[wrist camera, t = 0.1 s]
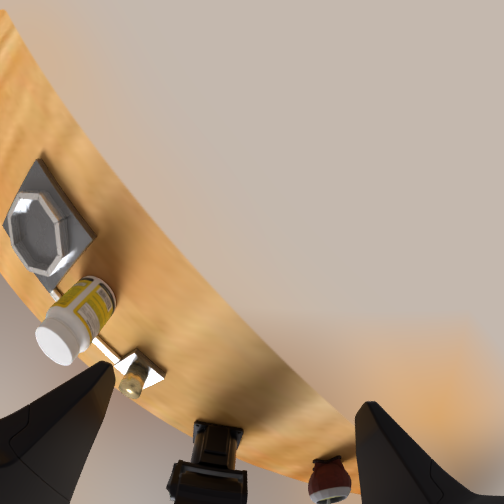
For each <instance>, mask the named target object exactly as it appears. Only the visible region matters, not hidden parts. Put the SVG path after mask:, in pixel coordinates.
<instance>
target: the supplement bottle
mask: <svg viewBox="0 0 504 504" xmlns="http://www.w3.org/2000/svg"><path fill="white" fill-rule="evenodd" d="M115 308H116V299H115V296H114V293H113V291H112V290H111V288H110V287H109V286H108V285H107V284H106V283H105V282H104V281H103V280H101V279H99V278H97V277H94V276H85V277H83V278H82V279H80V280H79V281H78V282H77V283H76V284H75V285H74V286H73V287H72V288H70V289H69V290H68V291H67V292H66V293H65V294H64V295H63V296H62V297H61V298H60V299H59V300H58V301H57V302H56V303H55V304H54V305H52V306H51V307H50V308H49V310H48V311H47V314H46V319H45V320H44V321H43V322H42V323H41V324H40V325H39V327H38V328H37V329H36V333H35V334H36V339H37V342H38V344H39V346H40V347H41V349H42V350H43V352H44V353H45V354H46V355H47V356H48V357H49V358H50V359H52V360H53V361H54V362H56V363H58V364H61V365H65V366H66V365H70V364H71V363H72V362H73V361H74V359H75V358H76V357H77V356H78V354H79V353H81V352H84V351H85V350H86V349H87V348H88V347H89V346H90V344H91V343H92V342H93V340H94V339H95V337H96V336H97V335H98V333H99V332H100V331H101V329H102V328H103V326H104V325H105V324H106V322H107V321H108V320H109V318H110V317H111V316H112V314H113V313H114V311H115Z"/></svg>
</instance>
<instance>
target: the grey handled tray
mask: <svg viewBox="0 0 504 504" xmlns="http://www.w3.org/2000/svg"><path fill="white" fill-rule="evenodd" d="M2 226H3V227H4V229H5V231H6V232H7V234H8V235H9V237H10V240H11V246H12V248H13V250H14V251H15V253H16V254H17V256H18V257H19V259H20V260H21V262H22V263H23V264H24V266H25V267H26V269H27V270H29V272H33V273H34V274H35V275H36V276H37V278H38V279H39V280H40V282H41V283H42V284H43V286H44V287H45V288H46V289H47V291H48V292H49V293H51V294H50V295H51V296H52V298H53V299H54V300H55V301H56V302H57V301H58V300H59V299H60V298H61V297H62V295H61V294H60V293H59V292H58V291H57V289H56V287H57V286H58V284H59V283H60V282H61V280H62V279H63V278H64V276H65V275H66V274H67V272H68V271H69V270H70V269H71V267H72V266H73V265H74V264H75V262H76V261H77V260H78V259H79V257H80V256H81V255H82V254H83V253H84V251H85V250H86V249H87V248H88V247H89V245H90V244H91V243H92V242H93V241H94V240H95V238H96V237H97V236H96V235H95V234H94V232H93V231H92V230H91V228H90V227H89V226H88V225H87V223H86V222H85V221H84V219H83V218H82V217H81V215H80V214H79V213H78V211H77V210H76V209H75V207H74V206H73V205H72V203H71V202H70V200H69V199H68V198H67V196H66V195H65V193H64V192H63V190H62V189H61V188H60V186H59V185H58V183H57V182H56V180H55V179H54V177H53V176H52V174H51V173H50V171H49V170H48V168H47V167H46V165H45V163H44V162H43V160H42V159H36V161H35V162H34V164H33V166H32V167H31V169H30V171H29V172H28V174H27V176H26V178H25V180H24V182H23V183H22V185H21V187H20V189H19V191H18V193H17V195H16V197H15V199H14V201H13V203H12V205H11V207H10V209H9V212H8V214H7V216H6V218H5V221H4V223H3V225H2ZM93 343H94V344H95V345H96V346H97V347H98V348H99V349H100V350H101V351H102V352H103V353H105V354H106V355H107V356H108V357H109V358H110V359H111V360H112V361H113V362H114V363H115V365H114V367H115V368H117V369H118V370H119V371H120V372H121V373H122V374H123V375H124V377H123V379H122V381H121V383H120V385H119V390H120V391H121V393H122V394H124V395H125V396H127V397H129V398H132V399H137V398H139V397H140V394H141V392H142V389H144V388H146V387H148V386H150V385H153V384H155V383H157V382H159V381H161V380H163V379H164V378H165V375H166V374H165V373H164V372H163V371H162V370H161V369H159V368H158V367H157V366H156V365H155V364H154V363H153V362H151V361H150V360H149V359H148V358H147V357H146V356H145V355H144V354H143V353H141V352H140V351H139V350H138V349H135V350H134V351H132V352H130V353H129V354H127V355H126V356H124V357H123V358H121V357H120V356H119V355H118V354H116V353H115V352H114V351H113V350H112V349H111V348H110V347H109V346H108V345H107V344H106V343H105V342H104V341H103V340H102V339H101V338H100V337H99V336H98V335H97V336H96V337H95V339H94V340H93Z"/></svg>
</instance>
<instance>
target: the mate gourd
mask: <svg viewBox="0 0 504 504" xmlns="http://www.w3.org/2000/svg"><path fill="white" fill-rule="evenodd" d="M341 458H342V457H341V456H336V457H334V458H332V459H330V460H328V461H322V460H317V459H315V460H313V463H315V467H314V468H313V471H314V472H313V474H312V475H311V477H310V480H309V484H308V491H309V495H310V498H311V500H312V501H313V502H314V503H316V504H331V503H335V502H339V501H342V500H344V499H346V498H347V496H348V495H349V493H350V491H351V479H350V476H349V474H348V473H347V472H346V470H345V469H344V467H343V464H342V463H341V461H340V459H341Z"/></svg>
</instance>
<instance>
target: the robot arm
mask: <svg viewBox="0 0 504 504" xmlns="http://www.w3.org/2000/svg"><path fill="white" fill-rule="evenodd" d="M114 386H115V374H114V370H113V366H112V364H111V363H108V362H105V361H99V362H98V363H96V364H94V365H93V366H91V367H89V368H88V369H86V370H85V371H83V372H81V373H80V374H78V375H76V376H75V377H73V378H71V379H70V380H68V381H67V382H65V383H63V384H62V385H60V386H58V387H57V388H55V389H53V390H52V391H50V392H48V393H47V394H45V395H43V396H42V397H40V398H38V399H37V400H35V401H33V402H32V403H30V405H27V406H25V407H23V408H21V409H20V410H18V411H16V412H14V413H12V414H10V415H8V416H6V417H4V418H2V419H0V504H70V501H71V498H72V495H73V493H74V490H75V487H76V485H77V482H78V479H79V477H80V474H81V472H82V469H83V466H84V464H85V461H86V459H87V457H88V454H89V452H90V449H91V447H92V445H93V443H94V440H95V438H96V436H97V433H98V431H99V429H100V426H101V424H102V422H103V419H104V417H105V414H106V410H107V407H108V404H109V401H110V398H111V395H112V392H113V389H114ZM242 435H243V429H240V428H233V427H226V426H220V425H214V424H209V423H203V422H198V421H196V422H194V431H193V443H194V448H193V453H192V458H191V463H190V462H185V461H183V460H179V461H178V463H175V464H174V466H173V470H172V474H171V476H170V479H169V481H168V484H167V487H166V489H167V490H168V491H169V495H170V500H171V501H174V504H247V494H248V493H247V492H248V490H247V471H246V470H243V471H240V470H235V460H236V450H237V449H238V446H239V443H240V440H241V438H242ZM355 436H356V457H357V464H358V472H359V480H360V489H361V497H362V504H504V496H488V495H479V494H475V493H473V492H471V491H470V490H468V489H467V488H465V487H464V486H463V485H462V484H460V483H459V482H458V481H456V480H455V479H454V478H453V477H451V476H450V475H449V474H448V473H447V472H445V471H444V470H443V469H442V468H441V467H440V466H439V465H438V464H437V463H436V462H435V461H434V460H433V459H431V457H430V456H429V455H428V454H427V453H426V452H425V451H424V450H423V449H422V448H421V447H420V446H419V445H418V444H417V443H416V442H415V441H414V440H413V439H412V438H411V437H410V436H409V435H408V434H407V433H406V432H405V431H404V430H403V429H402V428H401V427H400V426H399V425H398V424H397V423H396V422H395V421H394V420H393V419H392V418H391V417H390V416H389V415H388V414H387V412H385V410H384V409H383V408H382V407H381V406H380V405H379V404H378V403H377V402H375V401H371V402H370V401H367V402H365V403H364V404H363V405H362V407H361V408H360V409H359V411H358V412H357V414H356V416H355Z"/></svg>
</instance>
